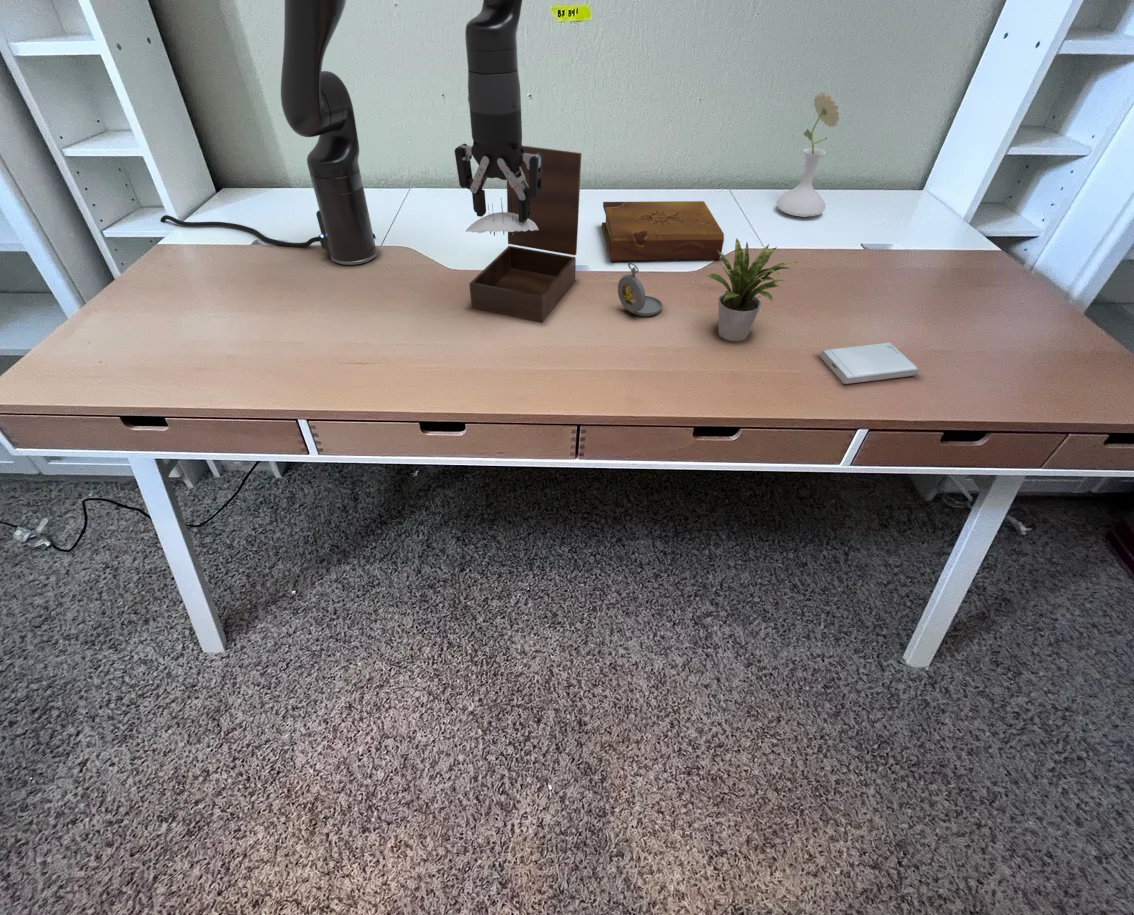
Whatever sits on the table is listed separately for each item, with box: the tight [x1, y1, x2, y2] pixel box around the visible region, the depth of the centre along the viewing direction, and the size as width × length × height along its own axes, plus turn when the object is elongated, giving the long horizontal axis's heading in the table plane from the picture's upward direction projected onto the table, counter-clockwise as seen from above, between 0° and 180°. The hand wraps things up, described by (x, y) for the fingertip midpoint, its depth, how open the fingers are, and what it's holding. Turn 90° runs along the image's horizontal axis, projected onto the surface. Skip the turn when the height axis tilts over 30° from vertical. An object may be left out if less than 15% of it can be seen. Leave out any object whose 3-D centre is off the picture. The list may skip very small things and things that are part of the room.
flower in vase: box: [775, 91, 840, 218], centre depth 143 cm, size 13×11×25 cm
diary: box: [601, 200, 725, 262], centre depth 135 cm, size 23×19×6 cm
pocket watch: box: [617, 262, 663, 317], centre depth 112 cm, size 8×8×10 cm
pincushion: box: [465, 198, 539, 237], centre depth 102 cm, size 12×6×6 cm, turn 97°
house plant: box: [706, 238, 798, 342], centre depth 103 cm, size 14×14×16 cm
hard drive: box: [819, 342, 919, 385], centre depth 102 cm, size 2×8×12 cm
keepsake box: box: [468, 245, 577, 324], centre depth 118 cm, size 17×14×5 cm
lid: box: [506, 145, 582, 256], centre depth 117 cm, size 18×14×1 cm
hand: (502, 217), depth 102 cm, fingers closed on pincushion, 7 cm apart
